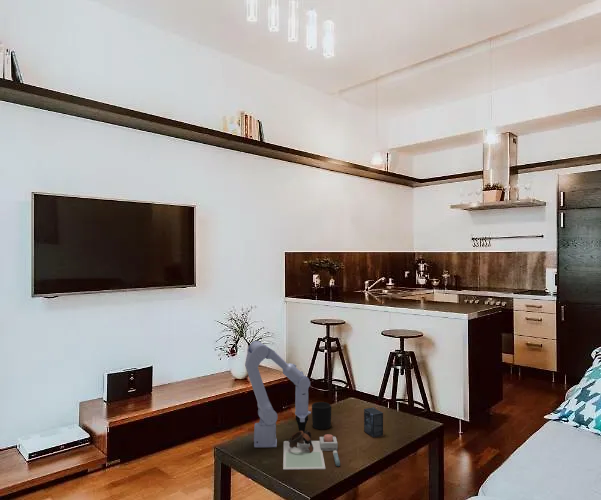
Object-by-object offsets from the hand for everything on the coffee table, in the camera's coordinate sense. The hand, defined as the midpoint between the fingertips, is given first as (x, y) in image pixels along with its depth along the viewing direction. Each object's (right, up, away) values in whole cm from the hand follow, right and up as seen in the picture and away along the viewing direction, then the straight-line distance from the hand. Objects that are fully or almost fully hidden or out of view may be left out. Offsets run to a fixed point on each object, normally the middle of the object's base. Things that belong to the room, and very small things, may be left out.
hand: (301, 432), depth 198 cm
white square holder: (+11, -2, -9) cm, 15 cm away
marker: (+14, -2, -22) cm, 26 cm away
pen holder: (+10, -3, +15) cm, 18 cm away
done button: (+11, -1, -9) cm, 14 cm away
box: (+33, -3, +6) cm, 33 cm away
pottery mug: (0, -2, -11) cm, 11 cm away
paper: (+1, -2, -16) cm, 16 cm away
